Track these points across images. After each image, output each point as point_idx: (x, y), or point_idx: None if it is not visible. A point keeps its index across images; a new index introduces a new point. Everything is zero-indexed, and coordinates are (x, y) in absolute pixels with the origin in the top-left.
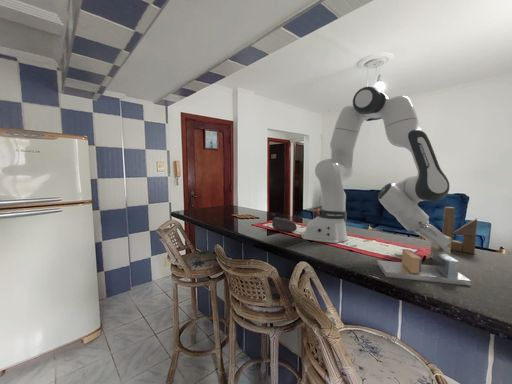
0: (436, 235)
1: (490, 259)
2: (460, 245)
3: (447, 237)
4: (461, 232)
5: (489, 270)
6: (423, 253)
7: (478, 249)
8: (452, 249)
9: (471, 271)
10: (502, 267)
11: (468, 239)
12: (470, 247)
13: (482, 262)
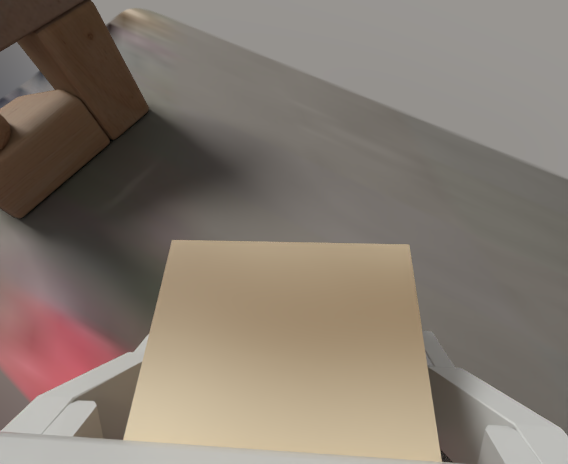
0: (280, 451)
1: (227, 87)
2: (81, 118)
3: (364, 281)
4: (3, 18)
5: (416, 172)
6: None
7: None
8: (73, 171)
9: (490, 277)
10: (339, 99)
11: (80, 46)
12: (121, 89)
13: (284, 139)
